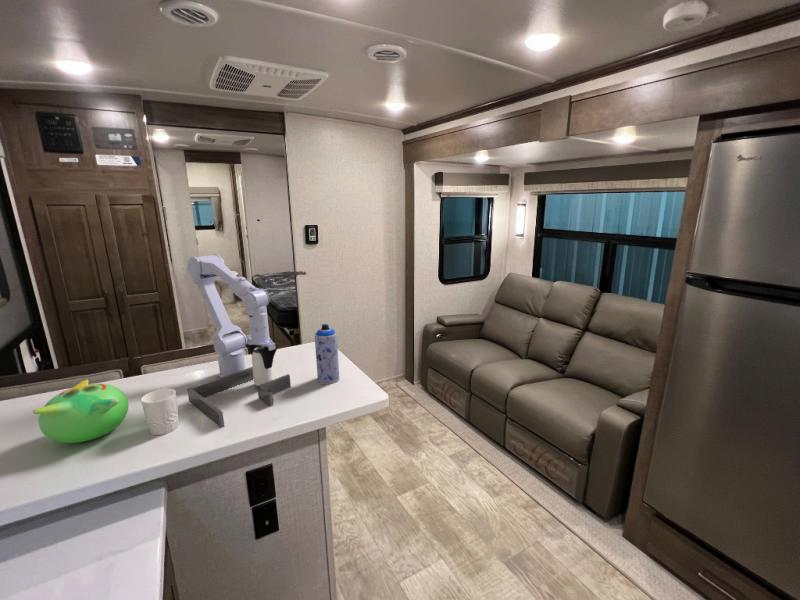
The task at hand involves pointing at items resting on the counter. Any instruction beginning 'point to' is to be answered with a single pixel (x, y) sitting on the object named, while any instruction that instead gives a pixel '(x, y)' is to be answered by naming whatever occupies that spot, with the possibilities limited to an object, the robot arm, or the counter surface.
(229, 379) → the rail channel
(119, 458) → the counter surface
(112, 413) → the toy bird
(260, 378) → the can
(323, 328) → the aerosol can
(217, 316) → the robot arm
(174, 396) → the white cup
